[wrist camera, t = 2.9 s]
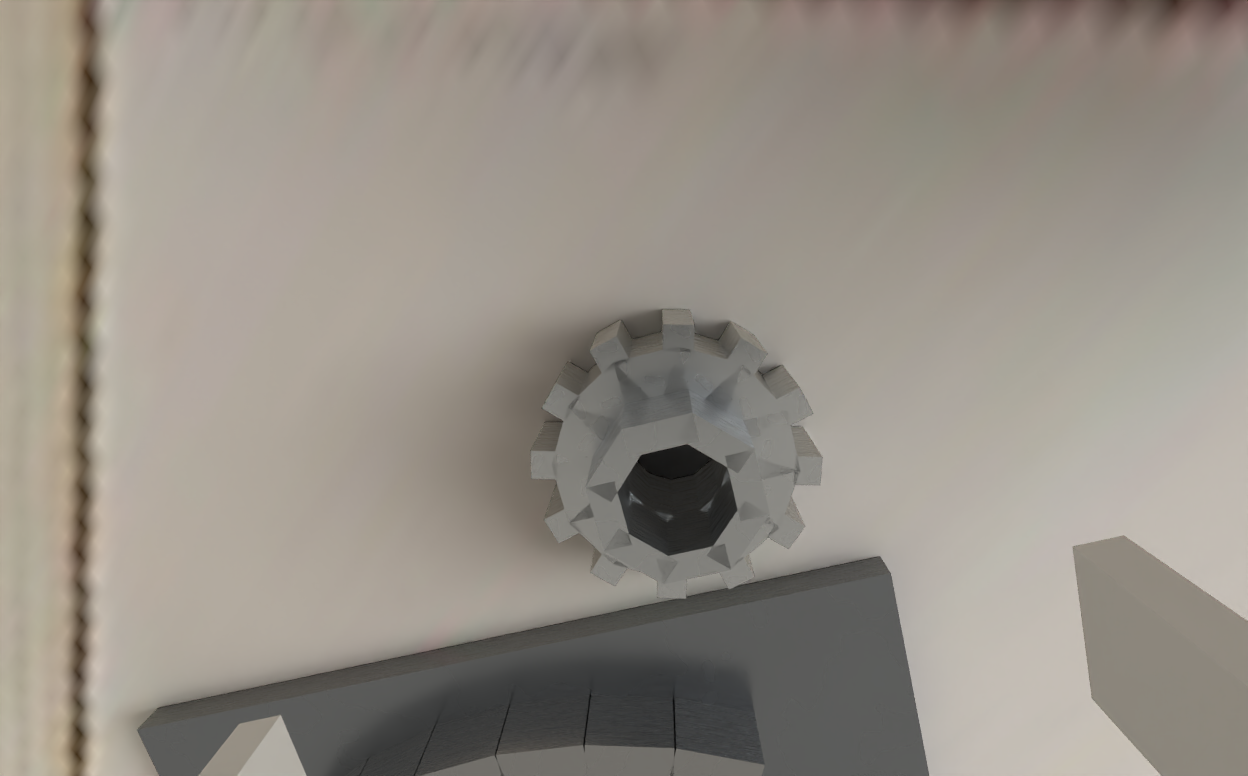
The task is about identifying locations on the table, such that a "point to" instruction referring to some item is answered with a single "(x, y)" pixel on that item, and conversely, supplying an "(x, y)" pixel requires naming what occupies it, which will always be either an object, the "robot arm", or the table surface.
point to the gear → (665, 418)
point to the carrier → (610, 695)
